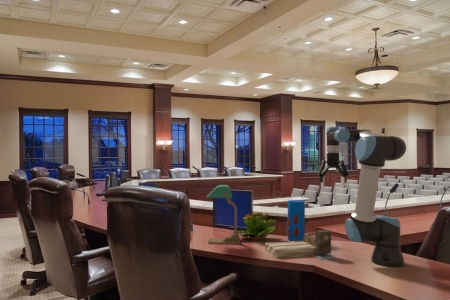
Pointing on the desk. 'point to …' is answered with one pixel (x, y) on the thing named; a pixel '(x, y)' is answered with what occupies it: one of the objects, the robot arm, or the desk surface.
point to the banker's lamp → (225, 192)
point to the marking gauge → (319, 241)
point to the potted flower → (256, 226)
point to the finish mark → (325, 256)
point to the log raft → (290, 249)
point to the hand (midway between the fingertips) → (332, 187)
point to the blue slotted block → (296, 220)
